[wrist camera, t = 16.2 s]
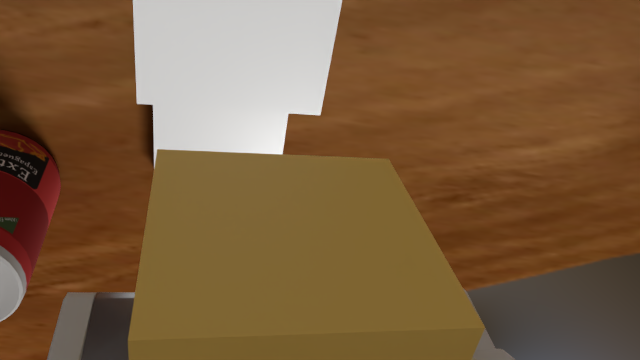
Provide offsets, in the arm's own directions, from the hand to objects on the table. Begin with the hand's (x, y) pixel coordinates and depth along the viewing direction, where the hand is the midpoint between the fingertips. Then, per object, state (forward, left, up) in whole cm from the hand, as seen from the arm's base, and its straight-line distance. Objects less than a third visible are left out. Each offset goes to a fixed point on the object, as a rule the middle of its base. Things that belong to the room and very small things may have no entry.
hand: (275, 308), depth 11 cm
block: (0, 0, -2) cm, 2 cm away
